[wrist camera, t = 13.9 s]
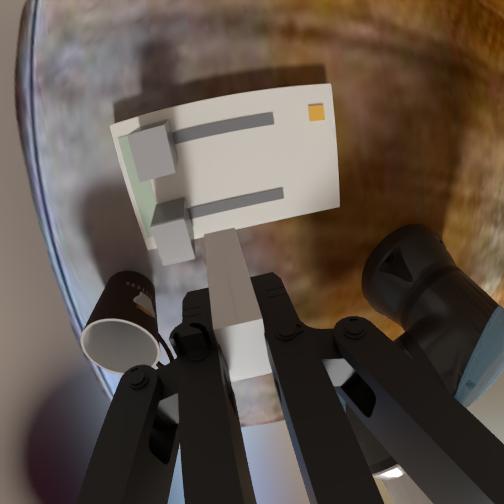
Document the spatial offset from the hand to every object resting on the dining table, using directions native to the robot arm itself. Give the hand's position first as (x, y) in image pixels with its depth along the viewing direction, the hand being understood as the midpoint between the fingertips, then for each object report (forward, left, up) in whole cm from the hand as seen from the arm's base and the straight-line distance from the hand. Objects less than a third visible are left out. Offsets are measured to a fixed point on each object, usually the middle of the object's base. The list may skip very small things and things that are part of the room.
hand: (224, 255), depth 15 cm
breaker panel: (-3, 0, -19) cm, 19 cm away
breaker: (+4, +4, -16) cm, 17 cm away
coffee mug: (+13, +15, -19) cm, 27 cm away
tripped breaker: (+4, -4, -16) cm, 17 cm away
